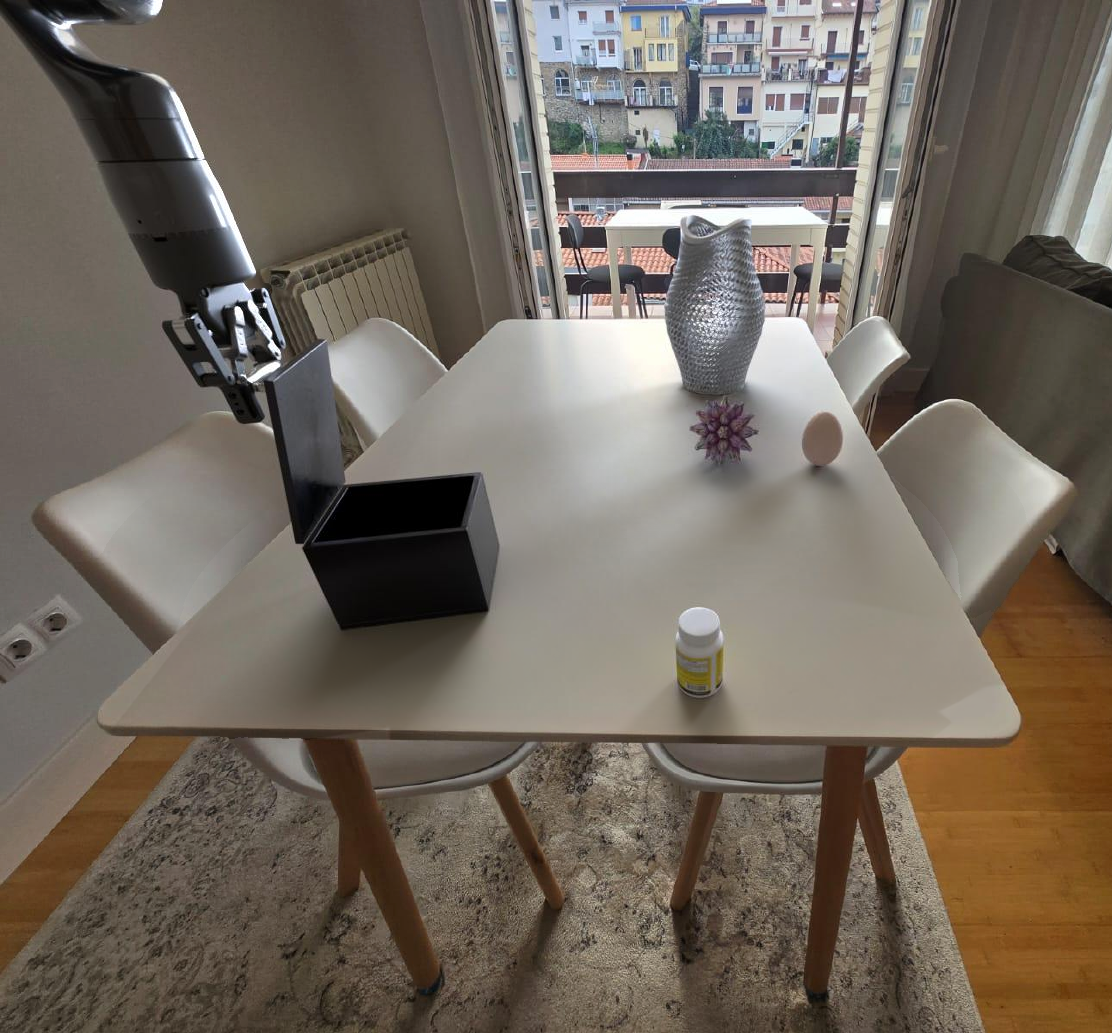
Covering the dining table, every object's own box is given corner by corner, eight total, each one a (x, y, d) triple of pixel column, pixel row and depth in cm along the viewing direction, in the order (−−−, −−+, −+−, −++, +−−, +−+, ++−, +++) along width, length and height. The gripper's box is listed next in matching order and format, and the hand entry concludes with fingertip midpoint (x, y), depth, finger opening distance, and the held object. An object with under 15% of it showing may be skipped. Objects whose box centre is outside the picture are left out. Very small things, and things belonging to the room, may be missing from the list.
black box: (499, 546, 79) (482, 471, 72) (489, 611, 68) (467, 530, 61) (373, 560, 76) (343, 484, 70) (340, 630, 65) (301, 547, 59)
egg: (844, 472, 96) (853, 418, 90) (805, 475, 95) (812, 421, 90) (831, 454, 101) (838, 403, 96) (794, 456, 101) (800, 405, 95)
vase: (653, 395, 127) (645, 221, 108) (682, 365, 145) (680, 210, 126) (750, 405, 122) (759, 223, 103) (768, 372, 139) (779, 212, 120)
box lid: (326, 339, 61) (272, 332, 60) (273, 381, 50) (204, 373, 48) (345, 481, 70) (298, 478, 68) (304, 544, 59) (246, 541, 57)
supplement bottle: (706, 657, 61) (706, 598, 56) (731, 685, 58) (734, 625, 53) (668, 675, 59) (665, 616, 54) (692, 707, 56) (691, 646, 51)
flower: (762, 475, 98) (704, 478, 92) (727, 446, 107) (672, 447, 101) (780, 412, 93) (719, 412, 87) (741, 387, 101) (684, 385, 96)
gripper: (180, 217, 53) (259, 387, 63) (70, 236, 42) (187, 443, 51) (266, 214, 54) (331, 382, 64) (182, 231, 43) (277, 435, 52)
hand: (267, 408), depth 57 cm, fingers closed on box lid, 6 cm apart
